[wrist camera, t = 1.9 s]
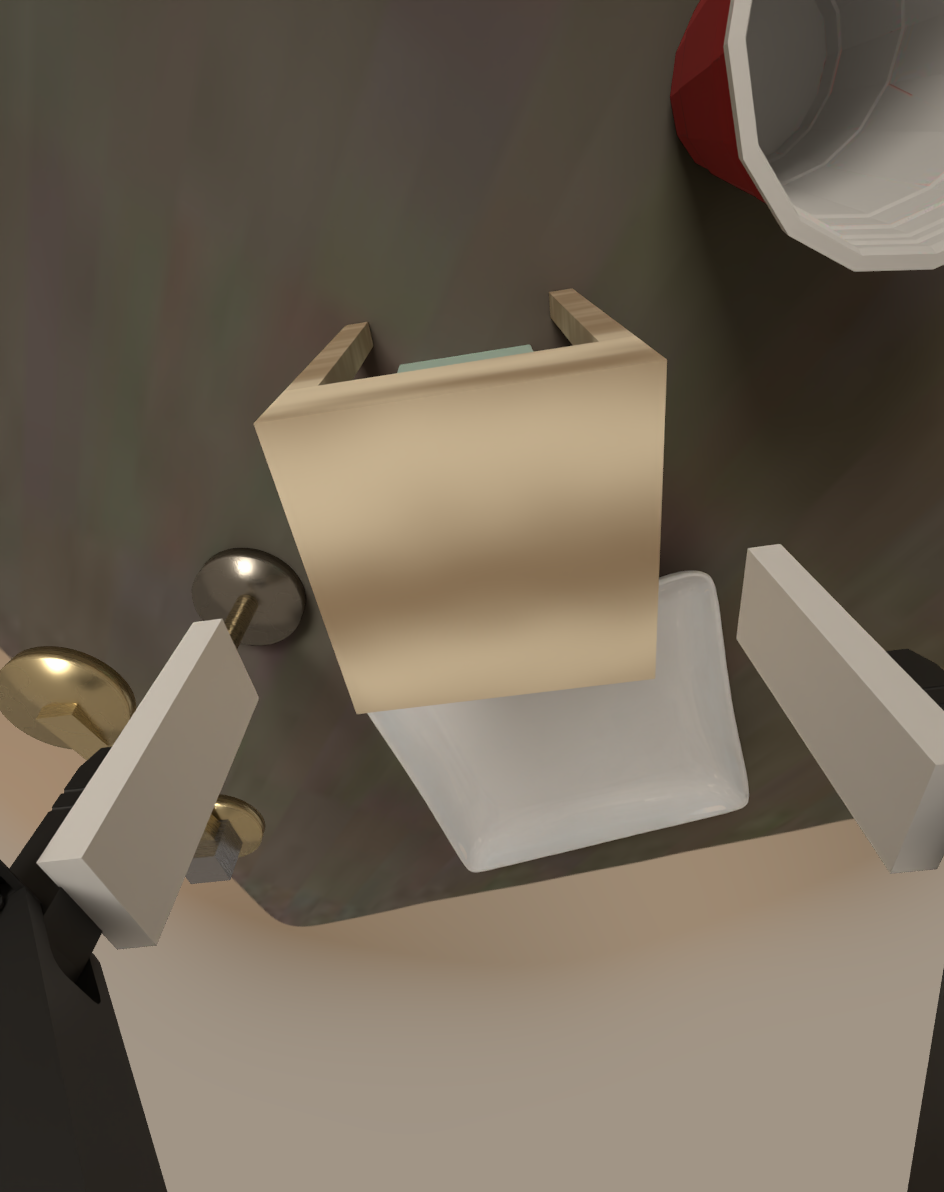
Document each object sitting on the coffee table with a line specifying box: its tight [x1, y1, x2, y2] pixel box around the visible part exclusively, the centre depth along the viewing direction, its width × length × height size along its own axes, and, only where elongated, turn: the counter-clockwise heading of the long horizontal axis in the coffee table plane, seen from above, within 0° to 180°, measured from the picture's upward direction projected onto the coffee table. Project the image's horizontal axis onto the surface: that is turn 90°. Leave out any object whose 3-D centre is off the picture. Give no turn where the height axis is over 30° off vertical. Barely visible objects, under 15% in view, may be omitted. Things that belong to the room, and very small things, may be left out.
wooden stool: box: [254, 288, 667, 714], centre depth 23 cm, size 10×10×14 cm
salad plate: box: [367, 571, 749, 872], centre depth 39 cm, size 21×21×3 cm
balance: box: [0, 548, 306, 884], centre depth 28 cm, size 15×6×15 cm, turn 8°
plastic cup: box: [670, 0, 944, 272], centre depth 17 cm, size 11×11×12 cm
